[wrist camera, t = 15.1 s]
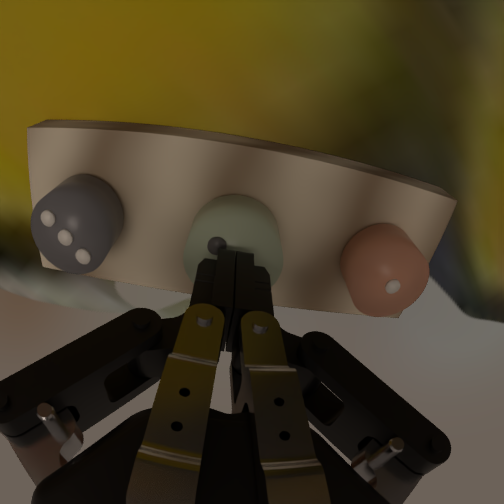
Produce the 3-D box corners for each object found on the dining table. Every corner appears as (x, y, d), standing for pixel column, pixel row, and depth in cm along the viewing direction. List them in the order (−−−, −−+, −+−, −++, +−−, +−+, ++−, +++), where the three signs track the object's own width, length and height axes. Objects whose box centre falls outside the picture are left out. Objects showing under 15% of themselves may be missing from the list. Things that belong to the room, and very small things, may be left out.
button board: (441, 187, 17) (457, 200, 15) (389, 299, 22) (398, 317, 20) (46, 119, 14) (27, 127, 13) (56, 249, 19) (42, 266, 17)
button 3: (124, 178, 14) (103, 200, 12) (124, 254, 17) (108, 283, 14) (50, 171, 14) (23, 190, 12) (57, 242, 16) (36, 268, 14)
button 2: (287, 203, 15) (295, 229, 13) (268, 276, 17) (271, 309, 15) (195, 188, 15) (186, 212, 12) (187, 264, 17) (179, 296, 15)
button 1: (422, 232, 16) (444, 257, 14) (393, 292, 18) (407, 321, 16) (355, 216, 16) (372, 243, 13) (329, 284, 18) (339, 316, 16)
